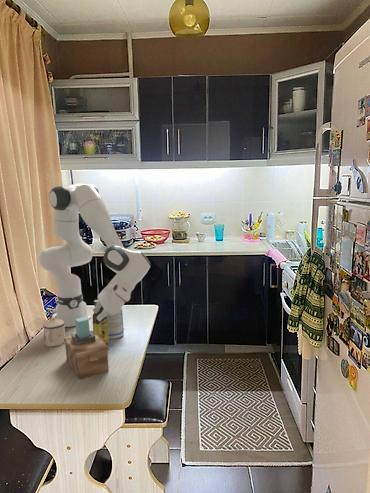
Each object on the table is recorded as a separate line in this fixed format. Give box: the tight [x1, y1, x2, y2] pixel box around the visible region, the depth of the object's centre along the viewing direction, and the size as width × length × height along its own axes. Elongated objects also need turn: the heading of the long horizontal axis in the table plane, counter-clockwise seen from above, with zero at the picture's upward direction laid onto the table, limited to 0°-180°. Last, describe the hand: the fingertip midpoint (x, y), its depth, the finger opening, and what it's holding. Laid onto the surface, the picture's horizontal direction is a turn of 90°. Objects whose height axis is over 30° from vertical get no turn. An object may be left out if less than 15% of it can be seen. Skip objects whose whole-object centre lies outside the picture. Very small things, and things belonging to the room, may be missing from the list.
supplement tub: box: [107, 306, 125, 340], centre depth 187 cm, size 10×10×15 cm
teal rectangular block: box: [75, 317, 91, 339], centre depth 159 cm, size 4×4×8 cm
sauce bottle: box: [91, 298, 109, 346], centre depth 176 cm, size 6×6×20 cm
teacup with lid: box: [42, 316, 66, 347], centre depth 180 cm, size 12×9×12 cm
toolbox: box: [63, 329, 110, 380], centre depth 159 cm, size 19×12×12 cm, turn 30°
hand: (96, 315), depth 160 cm, fingers open, 8 cm apart
